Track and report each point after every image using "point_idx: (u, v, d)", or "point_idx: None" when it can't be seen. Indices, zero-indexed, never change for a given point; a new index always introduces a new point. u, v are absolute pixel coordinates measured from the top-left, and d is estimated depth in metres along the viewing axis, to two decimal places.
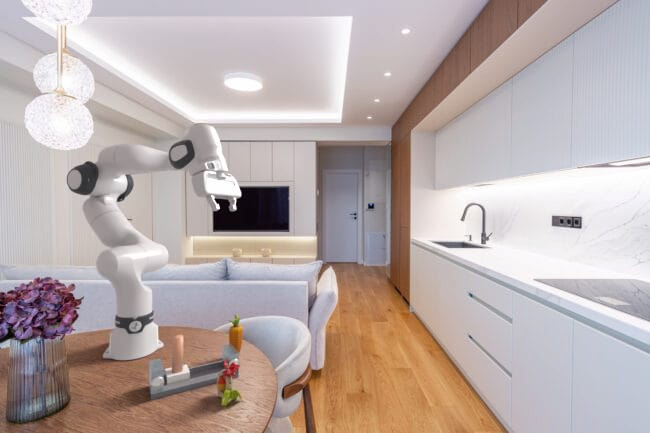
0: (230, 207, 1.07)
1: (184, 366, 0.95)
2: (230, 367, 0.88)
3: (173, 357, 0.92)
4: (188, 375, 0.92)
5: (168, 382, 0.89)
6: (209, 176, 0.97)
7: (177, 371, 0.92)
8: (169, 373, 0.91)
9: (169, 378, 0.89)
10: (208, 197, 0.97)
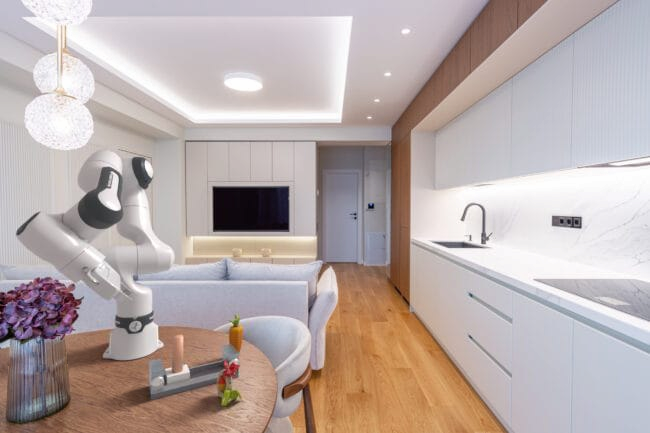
0: None
1: (184, 366, 0.95)
2: (230, 367, 0.88)
3: (173, 357, 0.92)
4: (188, 375, 0.92)
5: (168, 382, 0.89)
6: None
7: (177, 371, 0.92)
8: (169, 373, 0.91)
9: (169, 378, 0.89)
10: None
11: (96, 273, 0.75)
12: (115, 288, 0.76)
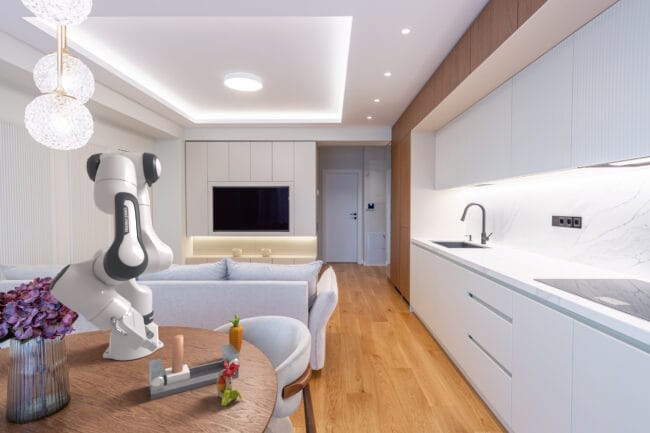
0: None
1: (184, 366, 0.95)
2: (230, 367, 0.88)
3: (173, 357, 0.92)
4: (188, 375, 0.92)
5: (168, 382, 0.89)
6: None
7: (177, 371, 0.92)
8: (169, 373, 0.91)
9: (169, 378, 0.89)
10: None
11: (124, 324, 0.78)
12: (142, 338, 0.79)
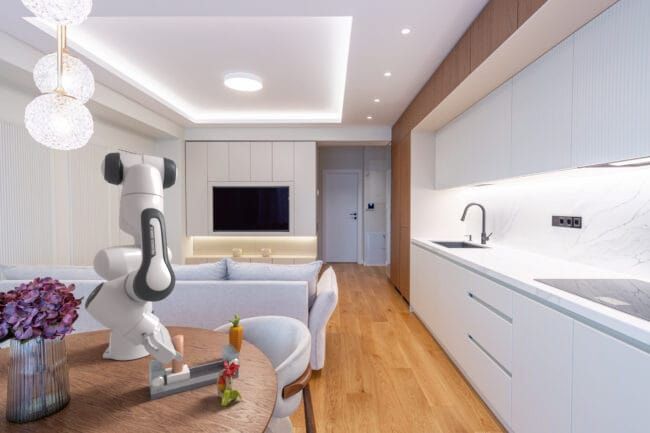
0: None
1: (184, 366, 0.95)
2: (230, 367, 0.88)
3: None
4: (188, 375, 0.92)
5: (168, 382, 0.89)
6: None
7: (177, 371, 0.92)
8: (169, 373, 0.91)
9: (169, 378, 0.89)
10: None
11: (156, 340, 0.82)
12: (172, 353, 0.83)
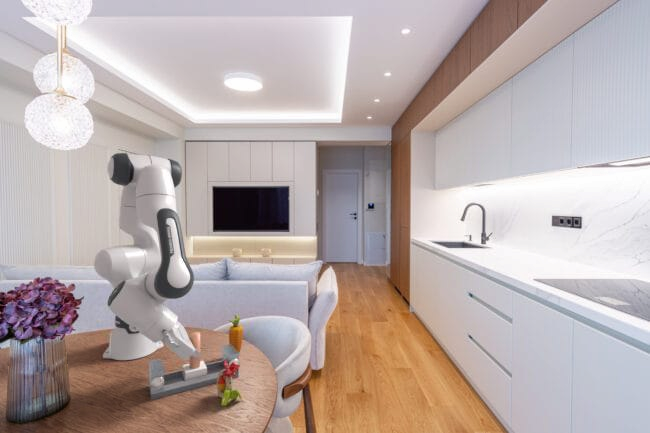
0: None
1: (201, 362, 0.98)
2: (230, 367, 0.88)
3: None
4: (205, 371, 0.95)
5: (186, 378, 0.92)
6: None
7: (195, 367, 0.94)
8: (187, 369, 0.94)
9: (187, 374, 0.92)
10: None
11: (176, 337, 0.84)
12: (191, 349, 0.86)
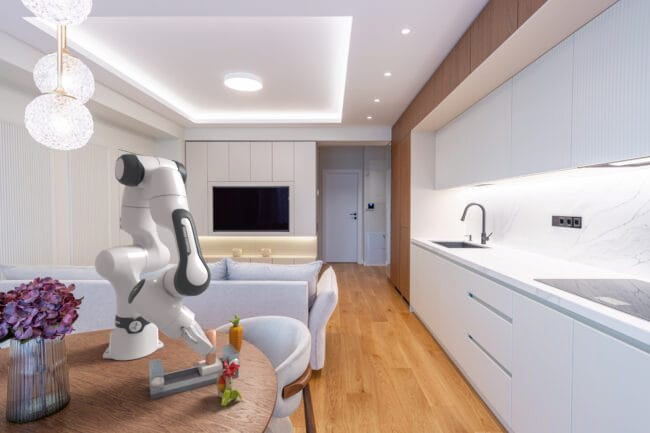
0: None
1: (216, 359, 1.00)
2: (230, 367, 0.88)
3: None
4: (221, 367, 0.97)
5: (203, 373, 0.94)
6: None
7: (211, 363, 0.97)
8: (203, 365, 0.96)
9: (204, 370, 0.94)
10: None
11: (194, 333, 0.87)
12: (209, 345, 0.88)
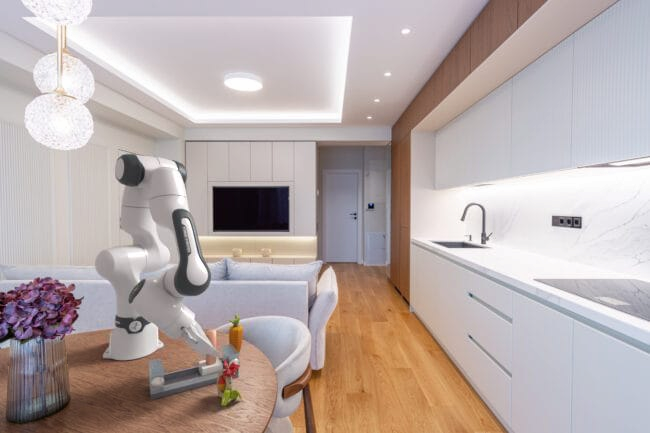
0: None
1: (216, 359, 1.01)
2: (230, 367, 0.88)
3: None
4: (221, 367, 0.97)
5: (203, 373, 0.94)
6: None
7: (211, 363, 0.97)
8: (203, 365, 0.96)
9: (204, 370, 0.94)
10: None
11: (195, 333, 0.87)
12: (210, 345, 0.88)
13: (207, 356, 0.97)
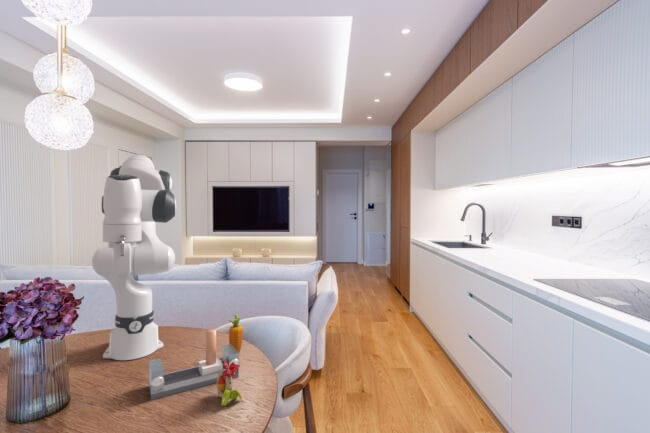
0: None
1: (216, 359, 1.01)
2: (230, 367, 0.88)
3: (207, 350, 0.97)
4: (221, 367, 0.97)
5: (203, 373, 0.94)
6: None
7: (211, 363, 0.97)
8: (203, 365, 0.96)
9: (204, 370, 0.94)
10: None
11: (129, 247, 0.78)
12: (129, 269, 0.77)
13: (207, 356, 0.97)
